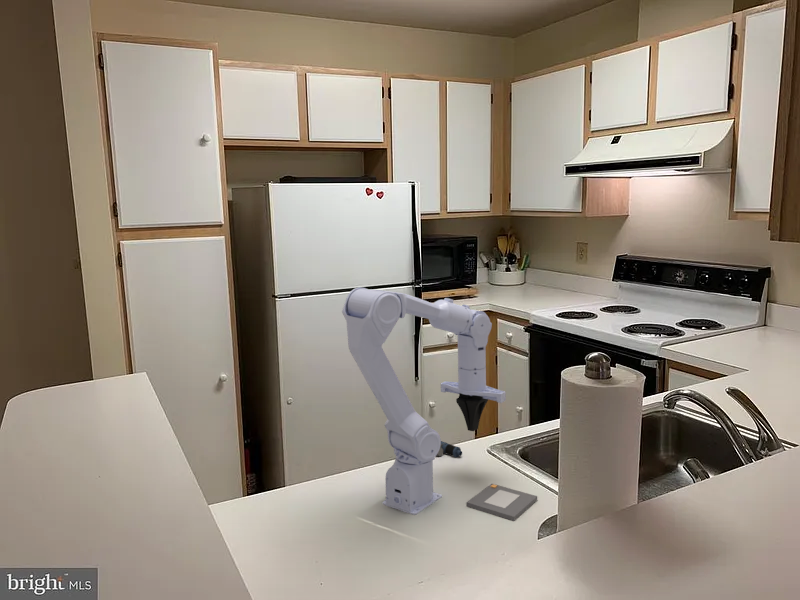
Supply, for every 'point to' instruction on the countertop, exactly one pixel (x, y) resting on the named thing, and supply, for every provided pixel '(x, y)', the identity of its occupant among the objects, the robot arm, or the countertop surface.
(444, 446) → the vaping device
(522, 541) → the countertop surface
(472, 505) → the computer chip
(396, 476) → the robot arm
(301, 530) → the countertop surface
